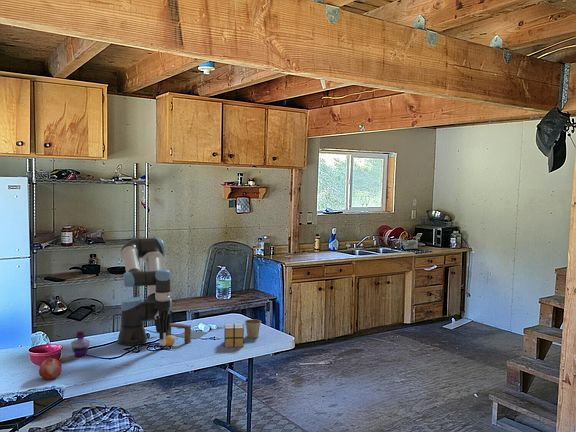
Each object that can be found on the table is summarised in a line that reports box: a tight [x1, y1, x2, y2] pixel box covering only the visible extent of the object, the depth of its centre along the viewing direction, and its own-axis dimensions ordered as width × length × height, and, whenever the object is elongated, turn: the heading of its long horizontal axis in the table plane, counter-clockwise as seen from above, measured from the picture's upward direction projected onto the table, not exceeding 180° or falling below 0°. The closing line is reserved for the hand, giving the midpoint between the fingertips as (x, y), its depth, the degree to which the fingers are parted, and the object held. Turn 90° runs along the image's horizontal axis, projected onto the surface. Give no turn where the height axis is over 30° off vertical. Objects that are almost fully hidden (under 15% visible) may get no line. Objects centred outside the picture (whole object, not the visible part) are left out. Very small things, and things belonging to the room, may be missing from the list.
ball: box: [165, 334, 175, 347], centre depth 267 cm, size 6×6×6 cm
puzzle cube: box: [223, 323, 245, 348], centre depth 271 cm, size 10×10×10 cm
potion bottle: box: [70, 330, 91, 358], centre depth 249 cm, size 9×9×12 cm
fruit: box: [38, 355, 63, 381], centre depth 220 cm, size 9×10×10 cm
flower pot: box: [244, 318, 262, 339], centre depth 285 cm, size 9×9×9 cm
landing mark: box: [176, 330, 208, 340], centre depth 288 cm, size 13×13×1 cm
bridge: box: [166, 322, 192, 345], centre depth 274 cm, size 3×14×9 cm, turn 68°
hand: (162, 344), depth 262 cm, fingers closed
